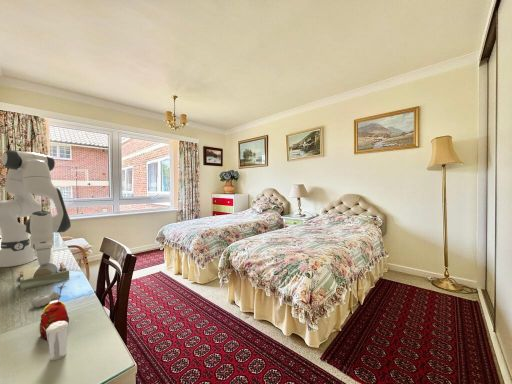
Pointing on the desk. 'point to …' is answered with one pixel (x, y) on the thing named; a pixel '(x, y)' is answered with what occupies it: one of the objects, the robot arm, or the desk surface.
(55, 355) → the white tooth model
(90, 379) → the desk surface
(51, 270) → the ceramic mug
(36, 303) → the smooth white sculpture
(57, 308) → the red clay folk toy
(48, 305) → the watch
